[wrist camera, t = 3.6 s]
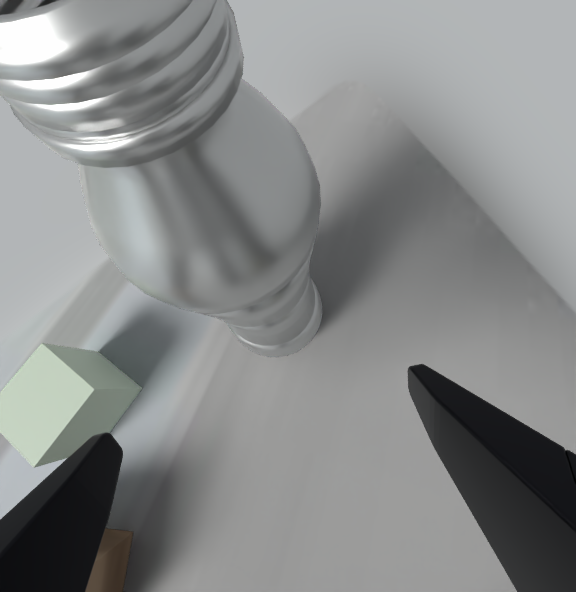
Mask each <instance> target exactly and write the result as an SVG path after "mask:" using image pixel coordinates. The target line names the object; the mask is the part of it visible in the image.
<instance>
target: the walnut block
mask: <svg viewBox="0 0 576 592" xmlns="http://www.w3.org/2000/svg"><path fill="white" fill-rule="evenodd" d="M132 536H133V532H131V531H123V530H115V529H107V528H105V531H104V534H103V538H102V541H101V544H100V547H99V550H98V553H97V557H96V560H95V563H94V566H93V569H92V572H91V575H90V579H89V582H88V585H87V588H86V591H85V592H123V588H124V582H125V576H126V571H127V565H128V559H129V553H130V548H131V542H132Z"/></svg>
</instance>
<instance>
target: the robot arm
mask: <svg viewBox="0 0 576 592" xmlns="http://www.w3.org/2000/svg"><path fill="white" fill-rule="evenodd" d="M408 388H409V392H410V395H411V398H412V400H413V402H414V404H415V407H416V409H417V411H418V413H419V415H420V418H421V420H422V422H423V424H424V427H425V429H426V431H427V433H428V436H429V438H430V440H431V442H432V444H433V446H434V448H435V450H436V452H437V454H438V455H439V457H440V459H441V461H442V462H443V464H444V466H445V468H446V469H447V471H448V473H449V474H450V476H451V478H452V480H453V481H454V483H455V485H456V487H457V488H458V490H459V492H460V493H461V495H462V497H463V499H464V500H465V502H466V504H467V506H468V507H469V509H470V511H471V512H472V514H473V516H474V518H475V519H476V521H477V523H478V525H479V526H480V528H481V530H482V531H483V533H484V535H485V537H486V538H487V540H488V542H489V544H490V545H491V547H492V549H493V550H494V552H495V554H496V556H497V557H498V559H499V561H500V563H501V564H502V566H503V568H504V569H505V571H506V573H507V575H508V576H509V578H510V580H511V582H512V583H513V585H514V587H515V588H516V590H517V592H576V454H574V453H573V452H571V451H569V450H566V451H565V449H564V447H562V446H561V445H559V444H557V443H555V442H554V441H552V440H550V439H549V438H547V437H545V436H544V435H542V434H540V433H539V432H537V431H535V430H534V429H532V428H530V427H529V426H527V425H525V424H523V423H522V422H520V421H518V420H517V419H515V418H513V417H512V416H510V415H508V414H507V413H505V412H503V411H502V410H500V409H498V408H497V407H495V406H493V405H491V404H490V403H488V402H486V401H485V400H483V399H481V398H480V397H478V396H476V395H475V394H473V393H471V392H470V391H468V390H466V389H465V388H463V387H461V386H459V385H458V384H456V383H454V382H453V381H451V380H449V379H448V378H446V377H444V376H443V375H441V374H439V373H438V372H436V371H434V370H433V369H431V368H429V367H427V366H426V365H424V364H419V365H414V366H410V367H409V368H408ZM122 458H123V450H122V448H121V447H120V445H119V444H118V443H117V441H116V440H115V439H114V437H113V436H112V435H111V434H110V433H108V432H105V433H100V434H96V435H93V436H92V437H91V438H89V439H88V440H87V441H86V442H85V443H84V444H83V445H82V446H81V447H80V448H78V449H77V450H76V451H75V452H74V453H73V454H72V455H71V456H70V457H69V458H67V459H66V460H65V461H64V462H63V463H62V464H61V465H60V466H59V467H58V468H56V469H55V470H54V471H53V472H52V473H51V474H50V475H49V476H48V477H47V478H46V479H44V480H43V481H42V482H41V483H40V484H39V485H38V486H37V487H36V488H35V489H33V490H32V491H31V492H30V493H29V494H28V495H27V496H26V497H25V498H24V499H22V500H21V501H20V502H19V503H18V504H17V505H16V506H15V507H14V508H13V509H12V510H10V511H9V512H8V513H7V514H6V515H5V516H4V517H3V518H2V519H1V520H0V592H85V591H86V588H87V585H88V582H89V579H90V575H91V572H92V569H93V566H94V563H95V560H96V557H97V553H98V550H99V547H100V544H101V541H102V538H103V534H104V531H105V528H106V525H107V522H108V518H109V515H110V511H111V507H112V503H113V499H114V494H115V490H116V485H117V481H118V476H119V472H120V467H121V463H122Z"/></svg>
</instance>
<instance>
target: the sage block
mask: <svg viewBox="0 0 576 592" xmlns="http://www.w3.org/2000/svg"><path fill="white" fill-rule="evenodd" d="M141 390H142V388H141V387H140V386H139V385H138V384H137V383H135V382H134V381H133V380H132V379H131V378H129V377H128V376H127V375H126V374H125V373H123V372H122V371H121V370H120V369H118V368H117V367H116V366H115V365H114V364H112V363H111V362H110V361H109V360H108V359H106V358H105V357H104V356H103V355H102V354H100V353H99V352H97V351H90V350H84V349H77V348H71V347H64V346H57V345H51V344H44V343H41V345H40V346H39V347H38V348H37V349H36V351H35V352H34V353H33V354H32V355H31V356H30V358H29V359H28V360H27V361H26V362H25V364H24V365H23V366H22V367H21V368H20V369H19V371H18V372H17V373H16V374H15V375H14V377H13V378H12V379H11V380H10V381H9V382H8V384H7V385H6V386H5V387H4V388H3V390H2V391H1V392H0V433H1V434H2V435H3V436H4V437H5V438H6V439H7V440H8V441H9V442H10V443H11V444H12V445H13V446H14V447H15V449H16V450H17V451H18V452H19V453H20V454H21V455H22V456H23V457H24V458H25V459H26V460H27V461H28V462H29V463H30V464H31V465H32V466H33V468H34V467H38V466H41V465H44V464H48V463H51V462H55V461H58V460H62V459H65V458H69V457H70V456H71V455H72V454H73V453H74V452H75V451H76V450H77V449H78V448H80V447H81V446H82V445H83V444H84V443H85V442H86V441H87V440H88V439H89V438H91V437H92V436H93V435H96V434H100V433H105V432H108V433H110V432H111V430H112V429H113V428H114V426H115V425H116V424H117V422H118V421H119V420H120V418H121V417H122V415H123V414H124V413H125V411H126V410H127V409H128V407H129V406H130V405H131V403H132V402H133V401H134V399H135V398H136V397H137V395H138V394H139V392H140V391H141Z"/></svg>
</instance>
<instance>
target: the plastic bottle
mask: <svg viewBox="0 0 576 592" xmlns="http://www.w3.org/2000/svg"><path fill="white" fill-rule="evenodd" d="M243 59H244V57H243V52H242V48H241V43H240V38H239V35H238V30H237V25H236V21H235V16H234V12H233V10H232V9H231V7H230V5H229V3H228V2H227V0H0V96H1V97H2V98H3V99H4V100H5V101H7V102H8V103H9V104H10V106H11V109H12V111H13V113H14V115H15V116H16V117H17V118H18V120H19V121H20V122H21V123H22V124H23V125H24V126H25V128H26V129H28V130H29V131H30V132H31V133H32V134H33V135H34V136H36V137H37V138H38V139H39V140H40V141H41V142H42V143H44V144H45V145H46V146H47V147H48V148H49V149H51V150H52V151H54V152H55V153H57V154H58V155H60V156H61V157H63V158H64V159H67V160H70V161H73V162H75V163H78V168H79V177H80V184H81V188H82V193H83V198H84V201H85V205H86V209H87V212H88V216H89V219H90V223H91V227H92V229H93V231H94V233H95V235H96V238H97V239H98V242H99V244H100V246H101V247H102V248H103V250H104V251H105V252H106V254H107V255H108V256H109V257H110V259H111V260H112V261H113V263H114V264H115V265H116V266H117V268H118V269H119V270H120V271H121V272H122V274H123V275H124V276H125V277H126V279H127V280H128V281H129V282H131V283H132V284H133V285H135V286H136V287H137V288H138V289H140V290H141V291H142V292H144V293H145V294H147V295H150V296H152V297H154V298H156V299H158V300H161V301H163V302H165V303H168V304H170V305H173V306H175V307H178V308H180V309H184V310H188V311H192V312H196V313H200V314H204V315H208V316H212V317H216V318H218V319H220V320H222V321H224V322H226V323H227V324H228V326H229V328H230V329H231V331H232V333H233V334H234V336H235V337H236V338H237V339H238V340H239V341H240V343H241V344H242V345H243V346H245V347H246V348H248V349H249V350H250V351H252V352H254V353H257V354H259V355H263V356H267V357H282V356H288V355H290V354H293V353H295V352H298V351H299V350H301V349H302V348H304V347H305V346H306V345H307V344H308V343H309V342H310V341H311V340H312V339H313V337H314V336H315V334H316V333H317V331H318V328H319V326H320V323H321V318H322V302H321V298H320V294H319V292H318V290H317V288H316V286H315V283H314V281H313V280H312V278H311V277H310V274H309V263H310V259H311V255H312V251H313V248H314V243H315V240H316V235H317V230H318V224H319V215H320V207H321V199H320V184H319V180H318V177H317V173H316V170H315V166H314V164H313V162H312V160H311V157H310V155H309V153H308V151H307V149H306V146H305V144H304V142H303V141H302V139H301V137H300V135H299V133H298V132H297V130H296V128H295V127H294V126H293V125H292V124H291V123H290V122H289V120H288V119H287V118H286V117H285V116H284V115H283V114H282V113H281V112H280V111H279V110H278V109H277V108H276V107H275V106H274V105H273V104H272V103H271V102H270V101H269V100H268V99H267V98H266V97H265V96H264V95H263V94H262V93H261V92H259V91H258V90H257V89H255V88H254V87H253V86H251V85H250V84H249V83H247V82H246V81H245V80H243V79H242V75H243Z"/></svg>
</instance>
